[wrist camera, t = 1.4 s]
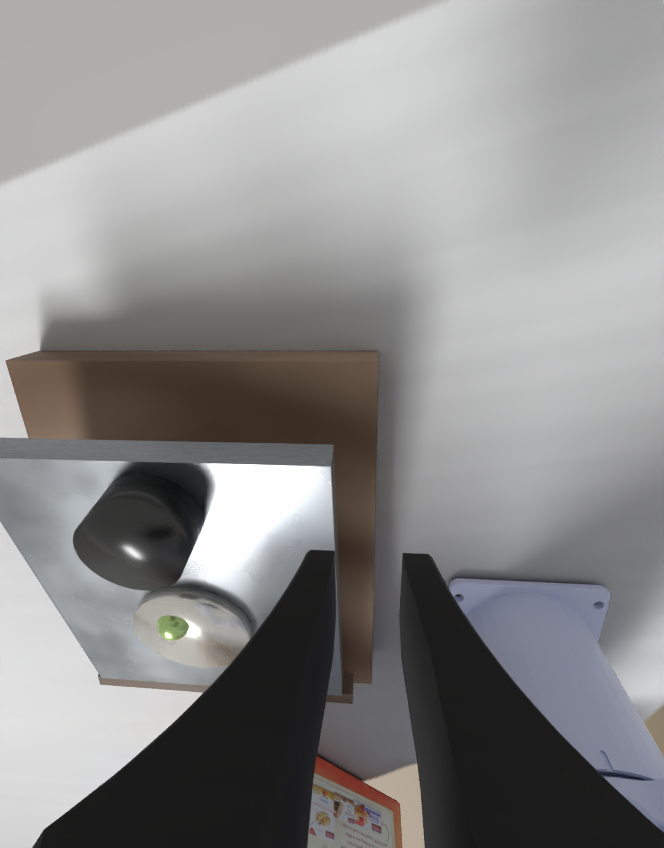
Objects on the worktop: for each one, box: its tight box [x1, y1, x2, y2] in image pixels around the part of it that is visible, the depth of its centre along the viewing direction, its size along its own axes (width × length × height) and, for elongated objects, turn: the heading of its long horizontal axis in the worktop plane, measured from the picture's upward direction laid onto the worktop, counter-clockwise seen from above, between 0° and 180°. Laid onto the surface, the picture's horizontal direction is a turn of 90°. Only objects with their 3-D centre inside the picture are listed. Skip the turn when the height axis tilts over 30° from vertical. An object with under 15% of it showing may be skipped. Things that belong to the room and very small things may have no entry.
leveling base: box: [6, 351, 378, 704], centre depth 21 cm, size 18×16×3 cm
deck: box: [0, 438, 344, 696], centre depth 18 cm, size 15×13×3 cm
